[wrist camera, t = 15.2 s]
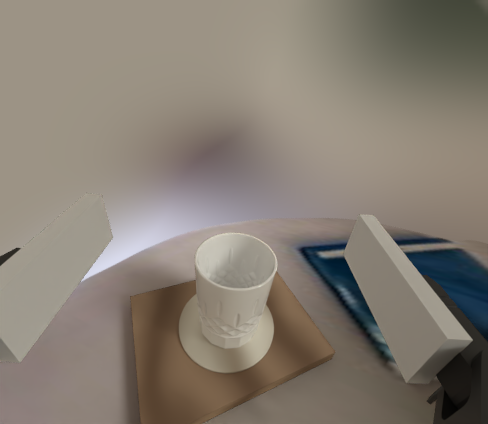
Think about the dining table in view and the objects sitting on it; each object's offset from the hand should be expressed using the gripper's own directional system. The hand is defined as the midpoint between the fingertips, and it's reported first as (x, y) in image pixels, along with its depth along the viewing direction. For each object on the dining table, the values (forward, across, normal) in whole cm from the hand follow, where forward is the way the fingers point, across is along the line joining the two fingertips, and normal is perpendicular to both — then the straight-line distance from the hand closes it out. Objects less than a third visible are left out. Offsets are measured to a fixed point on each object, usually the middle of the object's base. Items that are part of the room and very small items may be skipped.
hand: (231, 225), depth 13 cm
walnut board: (+7, 0, -20) cm, 21 cm away
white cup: (+7, 0, -19) cm, 20 cm away
